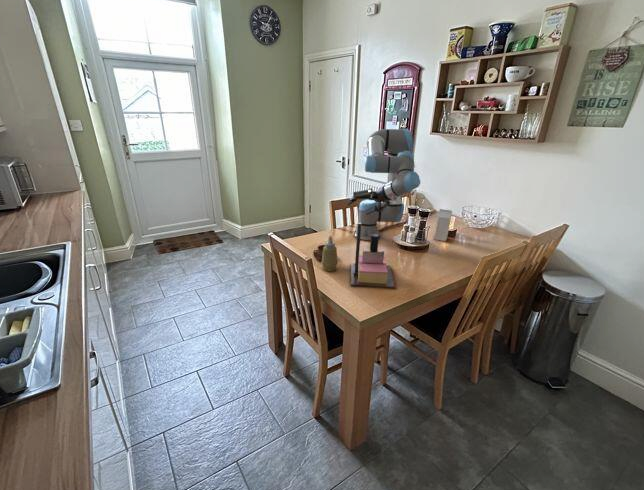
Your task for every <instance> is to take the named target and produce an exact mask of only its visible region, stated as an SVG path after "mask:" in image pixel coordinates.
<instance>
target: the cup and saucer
mask: <svg viewBox="0 0 644 490" xmlns="http://www.w3.org/2000/svg"><path fill="white" fill-rule="evenodd" d="M324 246H325V244H321V245H320V244H319V245H318V246H317V249H314V250H313V252H312V255H313V258H315V259H316V260H318V261H322V255H323V248H324Z"/></svg>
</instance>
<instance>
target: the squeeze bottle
mask: <svg viewBox="0 0 644 490" xmlns="http://www.w3.org/2000/svg"><path fill="white" fill-rule="evenodd" d="M324 245H325V246H324V248H323V255H322V260H321V265H322V267H323V270H324V271H326V272H334V271H335V270H336V268H337V265H338V251H337V249H338V248H337V246H336V242H334V241H333V236H332V235H329V236H328V239H327V241H325V244H324Z"/></svg>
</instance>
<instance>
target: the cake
mask: <svg viewBox="0 0 644 490" xmlns="http://www.w3.org/2000/svg"><path fill="white" fill-rule="evenodd" d="M362 257H363V254H362V255H361V254H359V263H358V281H359V282H363V283H381V284H387V277H388V270H387V266H386V265H387V261H386V258H385V257H386V256H384V260H383V265H382V264H362Z"/></svg>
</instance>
